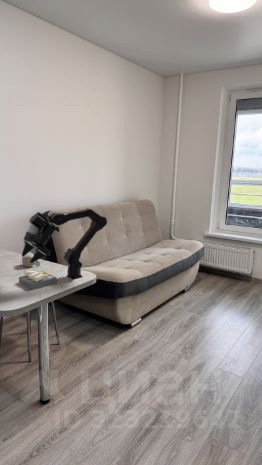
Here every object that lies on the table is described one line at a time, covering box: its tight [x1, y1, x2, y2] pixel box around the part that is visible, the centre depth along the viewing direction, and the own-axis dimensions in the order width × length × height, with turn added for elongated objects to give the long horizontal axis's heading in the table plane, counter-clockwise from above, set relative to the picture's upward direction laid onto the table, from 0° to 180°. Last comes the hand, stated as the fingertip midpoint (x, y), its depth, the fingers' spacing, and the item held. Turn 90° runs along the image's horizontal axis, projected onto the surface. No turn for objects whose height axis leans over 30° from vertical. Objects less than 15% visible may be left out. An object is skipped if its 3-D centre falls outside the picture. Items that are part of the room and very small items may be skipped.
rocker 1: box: [23, 270, 36, 276], centre depth 168 cm, size 5×3×2 cm, turn 136°
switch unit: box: [18, 270, 58, 291], centre depth 167 cm, size 14×14×3 cm
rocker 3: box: [32, 274, 45, 282], centre depth 162 cm, size 5×3×2 cm, turn 136°
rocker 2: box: [28, 271, 40, 279], centre depth 165 cm, size 5×3×2 cm, turn 136°
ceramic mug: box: [21, 251, 41, 268], centre depth 194 cm, size 11×8×8 cm
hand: (26, 259), depth 161 cm, fingers open, 9 cm apart
